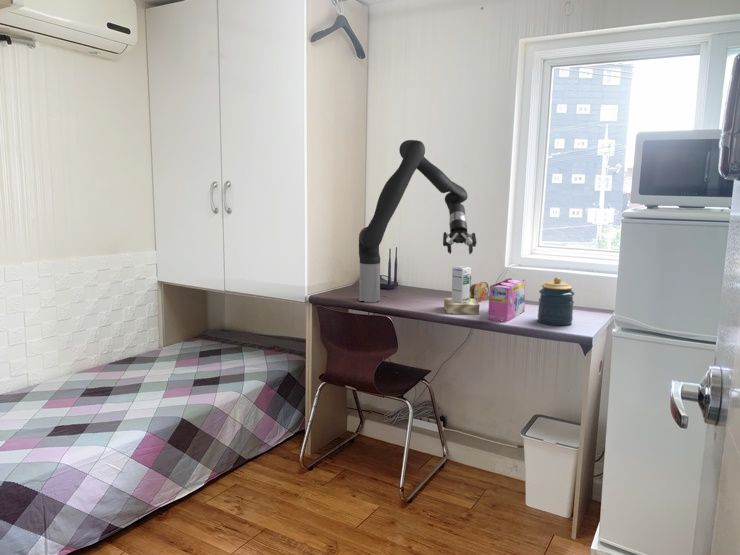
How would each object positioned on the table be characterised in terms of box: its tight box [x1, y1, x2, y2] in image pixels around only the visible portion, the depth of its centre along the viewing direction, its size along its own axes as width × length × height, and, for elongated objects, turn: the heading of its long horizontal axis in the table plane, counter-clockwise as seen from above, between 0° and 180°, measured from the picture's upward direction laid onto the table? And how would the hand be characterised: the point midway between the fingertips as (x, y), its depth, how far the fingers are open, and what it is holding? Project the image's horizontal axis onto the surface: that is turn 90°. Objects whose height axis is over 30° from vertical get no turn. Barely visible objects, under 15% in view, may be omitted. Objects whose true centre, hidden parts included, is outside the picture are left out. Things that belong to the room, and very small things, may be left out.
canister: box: [537, 276, 575, 326], centre depth 214 cm, size 13×13×18 cm
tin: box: [471, 281, 490, 303], centre depth 254 cm, size 15×3×8 cm, turn 143°
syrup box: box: [451, 265, 472, 303], centre depth 231 cm, size 6×6×14 cm
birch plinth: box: [443, 297, 480, 315], centre depth 233 cm, size 13×13×4 cm
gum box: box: [487, 278, 526, 322], centre depth 225 cm, size 24×8×14 cm, turn 147°
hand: (460, 252), depth 238 cm, fingers open, 8 cm apart
